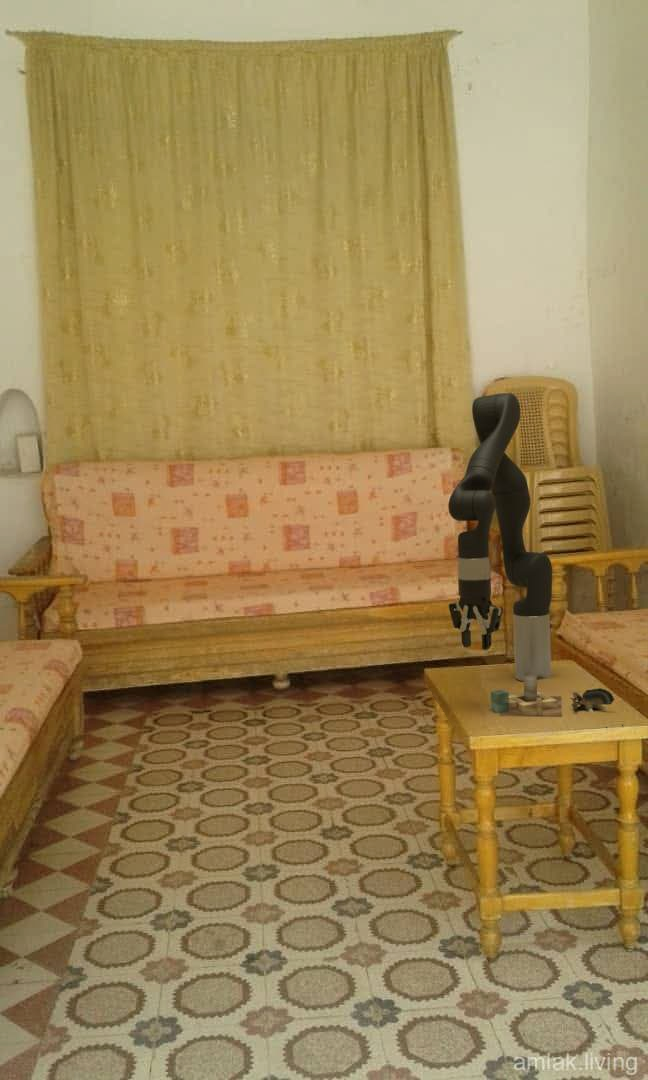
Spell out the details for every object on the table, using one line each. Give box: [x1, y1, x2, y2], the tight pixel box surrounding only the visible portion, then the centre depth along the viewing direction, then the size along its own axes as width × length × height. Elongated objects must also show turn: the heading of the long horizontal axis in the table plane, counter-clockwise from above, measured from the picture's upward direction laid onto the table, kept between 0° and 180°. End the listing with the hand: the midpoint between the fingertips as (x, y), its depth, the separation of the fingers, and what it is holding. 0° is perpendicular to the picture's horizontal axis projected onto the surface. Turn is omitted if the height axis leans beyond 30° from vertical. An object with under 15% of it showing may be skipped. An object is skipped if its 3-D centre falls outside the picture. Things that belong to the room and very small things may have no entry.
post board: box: [498, 675, 563, 718], centre depth 246 cm, size 17×14×8 cm
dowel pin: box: [537, 698, 542, 716], centre depth 238 cm, size 1×1×4 cm
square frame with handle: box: [490, 689, 558, 714], centre depth 245 cm, size 14×9×4 cm, turn 108°
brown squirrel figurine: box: [570, 687, 615, 713], centre depth 241 cm, size 8×7×9 cm
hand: (476, 647), depth 246 cm, fingers open, 4 cm apart
